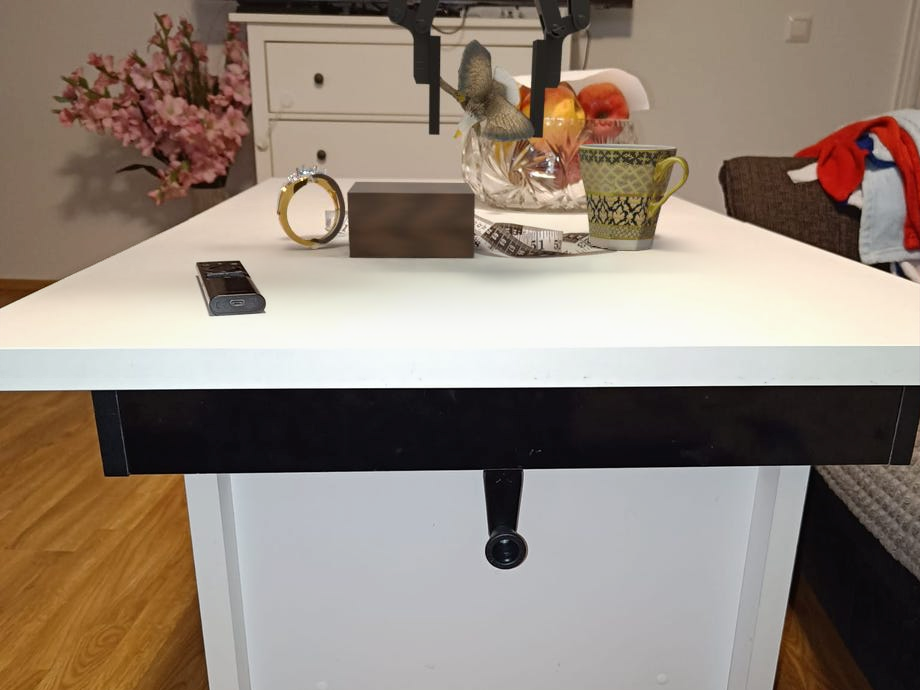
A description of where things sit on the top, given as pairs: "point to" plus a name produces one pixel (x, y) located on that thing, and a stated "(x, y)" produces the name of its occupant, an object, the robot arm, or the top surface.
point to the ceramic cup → (626, 191)
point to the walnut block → (411, 220)
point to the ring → (292, 187)
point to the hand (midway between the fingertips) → (484, 135)
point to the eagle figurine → (488, 98)
